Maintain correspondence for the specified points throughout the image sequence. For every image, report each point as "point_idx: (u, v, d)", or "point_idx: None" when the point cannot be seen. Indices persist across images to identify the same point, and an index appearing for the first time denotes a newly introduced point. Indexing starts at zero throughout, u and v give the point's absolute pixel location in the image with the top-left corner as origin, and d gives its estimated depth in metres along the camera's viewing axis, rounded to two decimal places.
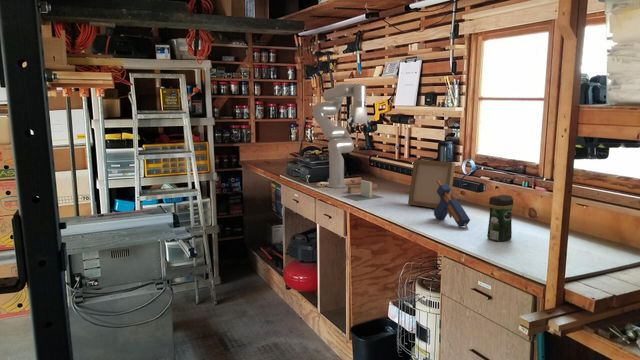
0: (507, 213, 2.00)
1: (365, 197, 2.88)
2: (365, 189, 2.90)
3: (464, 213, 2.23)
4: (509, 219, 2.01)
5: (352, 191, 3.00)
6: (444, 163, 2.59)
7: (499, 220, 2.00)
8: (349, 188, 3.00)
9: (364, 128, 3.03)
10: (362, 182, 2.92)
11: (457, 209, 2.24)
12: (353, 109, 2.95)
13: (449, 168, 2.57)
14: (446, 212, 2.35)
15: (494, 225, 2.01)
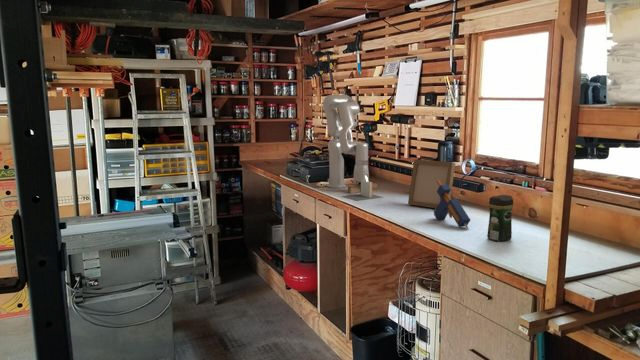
0: (507, 213, 2.00)
1: (365, 197, 2.88)
2: (365, 189, 2.90)
3: (464, 213, 2.23)
4: (509, 219, 2.01)
5: (352, 191, 3.00)
6: (444, 163, 2.59)
7: (499, 220, 2.00)
8: (349, 188, 3.00)
9: None
10: (362, 182, 2.92)
11: (457, 209, 2.24)
12: (366, 168, 2.99)
13: (449, 168, 2.57)
14: (446, 212, 2.35)
15: (494, 225, 2.01)
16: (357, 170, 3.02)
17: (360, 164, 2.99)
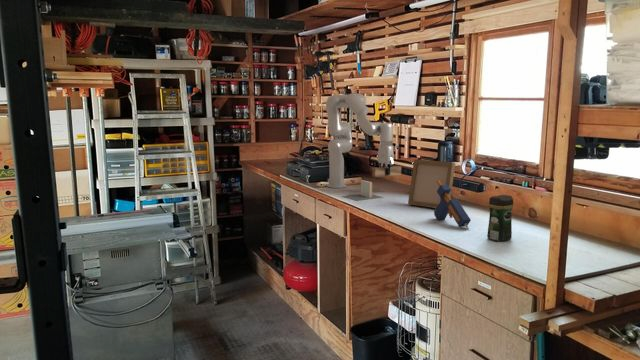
0: (507, 213, 2.00)
1: (365, 197, 2.88)
2: (365, 189, 2.90)
3: (465, 213, 2.22)
4: (509, 219, 2.01)
5: (377, 173, 2.91)
6: (444, 163, 2.59)
7: (499, 220, 2.00)
8: (373, 170, 2.91)
9: None
10: (362, 182, 2.92)
11: (457, 209, 2.23)
12: (391, 149, 2.90)
13: (449, 168, 2.57)
14: (446, 212, 2.35)
15: (494, 225, 2.01)
16: (382, 151, 2.93)
17: (385, 145, 2.90)
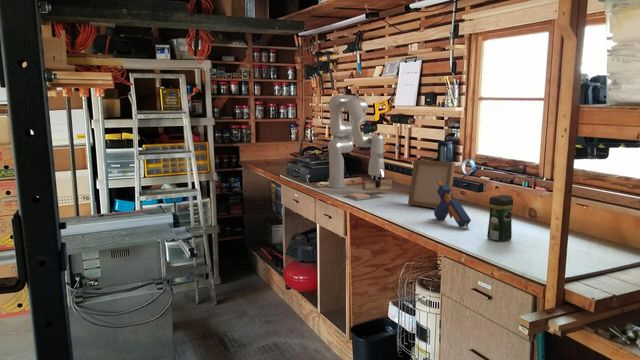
0: (507, 213, 2.00)
1: None
2: None
3: (465, 213, 2.22)
4: (509, 219, 2.01)
5: (367, 186, 2.89)
6: (444, 163, 2.59)
7: (499, 220, 2.00)
8: (364, 183, 2.89)
9: None
10: None
11: (458, 209, 2.23)
12: (382, 161, 2.88)
13: (449, 168, 2.57)
14: (446, 212, 2.35)
15: (494, 225, 2.01)
16: (372, 163, 2.91)
17: (375, 157, 2.88)
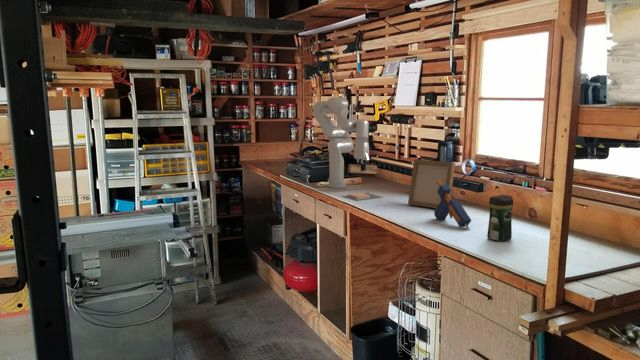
0: (507, 213, 2.00)
1: None
2: None
3: (465, 213, 2.22)
4: (509, 219, 2.01)
5: (352, 169, 2.97)
6: (444, 163, 2.59)
7: (499, 220, 2.00)
8: (349, 166, 2.98)
9: None
10: None
11: (458, 209, 2.23)
12: (367, 145, 2.97)
13: (449, 168, 2.57)
14: (447, 212, 2.34)
15: (494, 225, 2.01)
16: (357, 147, 3.00)
17: (360, 141, 2.96)
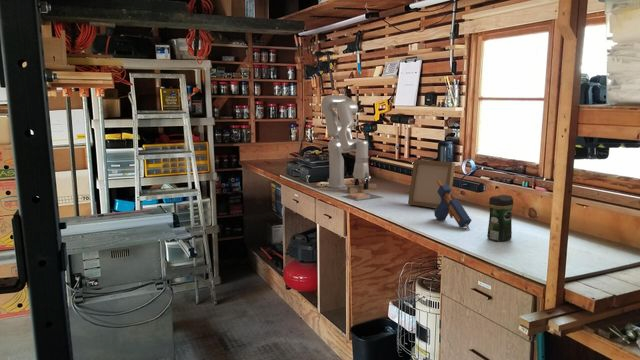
0: (507, 213, 2.00)
1: None
2: None
3: (465, 213, 2.22)
4: (509, 219, 2.01)
5: (351, 191, 2.99)
6: (444, 163, 2.59)
7: (499, 220, 2.00)
8: (348, 188, 3.00)
9: (356, 182, 3.08)
10: None
11: (458, 209, 2.23)
12: (366, 165, 2.99)
13: (449, 168, 2.57)
14: (447, 212, 2.34)
15: (494, 225, 2.01)
16: (357, 168, 3.02)
17: (360, 162, 2.99)
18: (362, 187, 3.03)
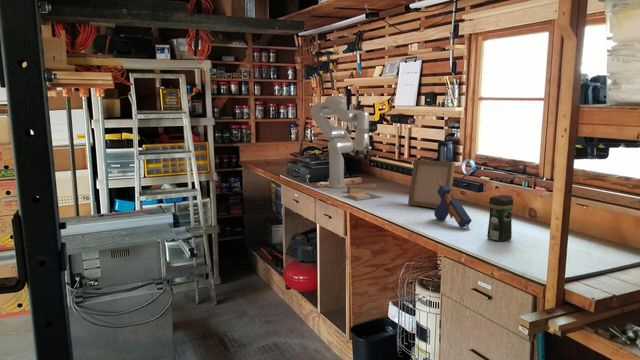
0: (507, 213, 2.00)
1: None
2: None
3: (465, 213, 2.22)
4: (509, 219, 2.01)
5: (351, 191, 2.99)
6: (444, 163, 2.59)
7: (499, 220, 2.00)
8: (348, 188, 3.00)
9: (357, 154, 3.06)
10: None
11: (458, 210, 2.23)
12: (367, 136, 2.97)
13: (449, 168, 2.57)
14: (447, 213, 2.34)
15: (494, 225, 2.01)
16: (358, 139, 3.00)
17: (361, 132, 2.96)
18: (362, 187, 3.03)
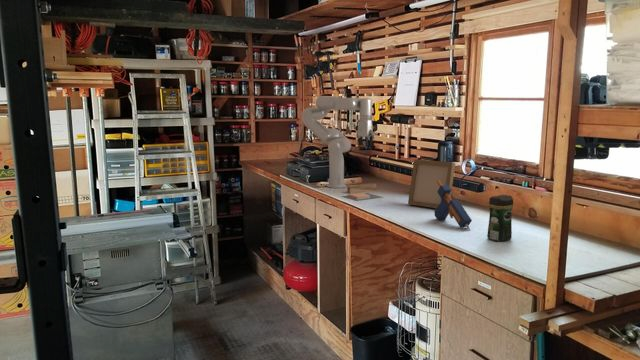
0: (507, 213, 2.00)
1: None
2: None
3: (465, 214, 2.22)
4: (509, 219, 2.01)
5: (351, 191, 2.99)
6: (444, 163, 2.59)
7: (499, 220, 2.00)
8: (348, 188, 3.00)
9: (360, 141, 3.12)
10: None
11: (458, 210, 2.23)
12: (370, 123, 3.03)
13: (449, 168, 2.57)
14: (447, 213, 2.34)
15: (494, 225, 2.01)
16: (361, 125, 3.06)
17: (364, 119, 3.03)
18: (362, 187, 3.03)
